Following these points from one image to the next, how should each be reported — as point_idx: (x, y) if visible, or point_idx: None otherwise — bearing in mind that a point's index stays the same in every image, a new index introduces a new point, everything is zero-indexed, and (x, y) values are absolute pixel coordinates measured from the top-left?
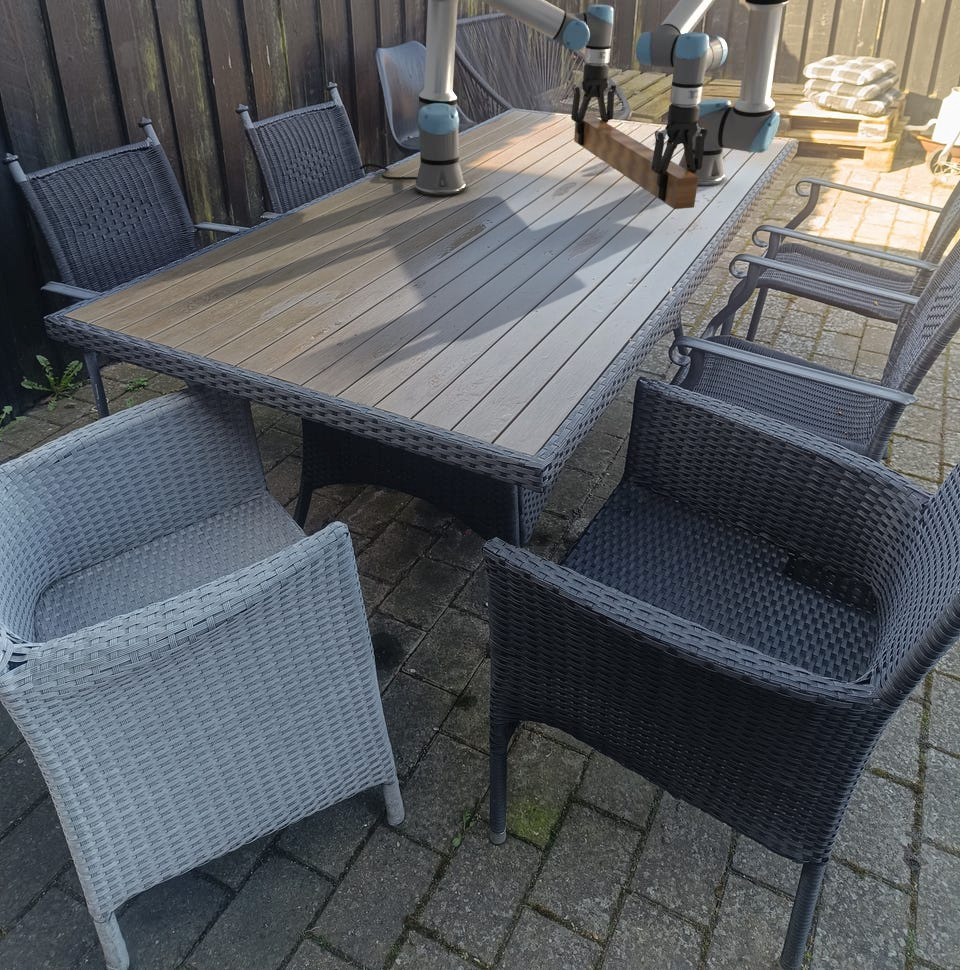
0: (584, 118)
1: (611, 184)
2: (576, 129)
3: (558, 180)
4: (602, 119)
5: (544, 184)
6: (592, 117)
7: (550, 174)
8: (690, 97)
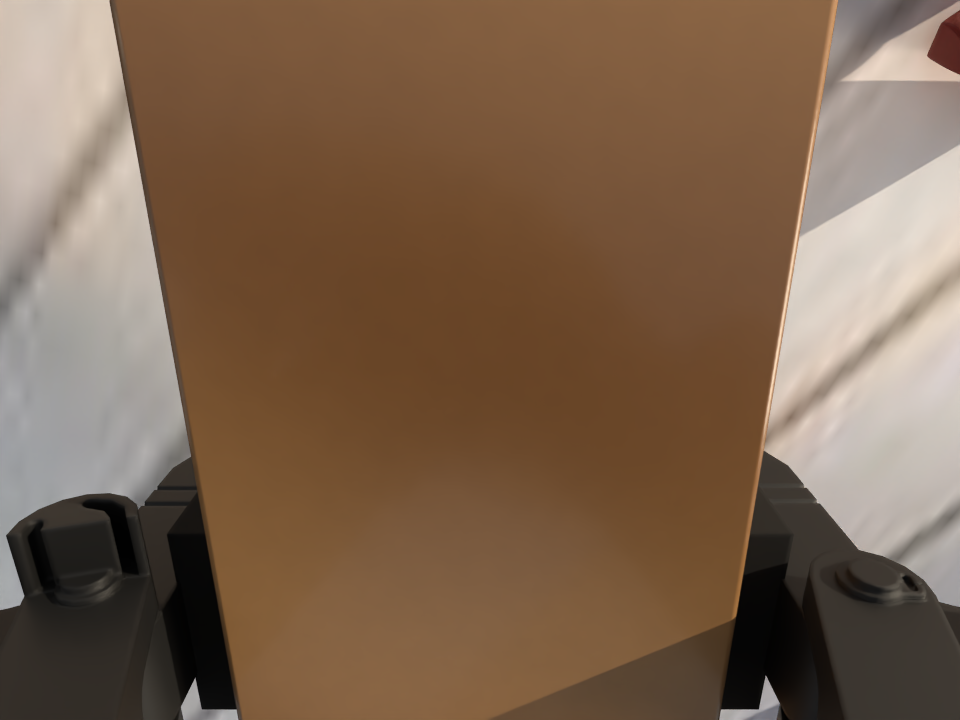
0: (321, 489)
1: None
2: (158, 500)
3: (160, 421)
4: (795, 668)
5: (26, 489)
6: (626, 426)
7: (117, 229)
8: None
